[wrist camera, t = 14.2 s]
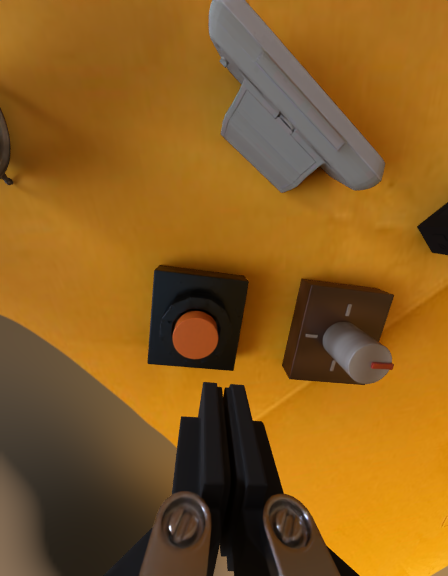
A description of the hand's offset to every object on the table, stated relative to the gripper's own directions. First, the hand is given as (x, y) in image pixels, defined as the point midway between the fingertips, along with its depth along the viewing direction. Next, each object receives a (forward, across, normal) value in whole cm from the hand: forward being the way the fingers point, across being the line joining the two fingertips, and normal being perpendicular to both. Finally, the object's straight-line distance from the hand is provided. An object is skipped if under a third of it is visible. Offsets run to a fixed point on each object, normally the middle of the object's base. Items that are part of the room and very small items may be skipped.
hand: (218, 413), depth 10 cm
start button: (+15, +1, +4) cm, 16 cm away
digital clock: (+21, -5, -17) cm, 27 cm away
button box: (+20, +1, +4) cm, 21 cm away
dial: (+17, -16, +4) cm, 24 cm away
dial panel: (+20, -16, +4) cm, 26 cm away
